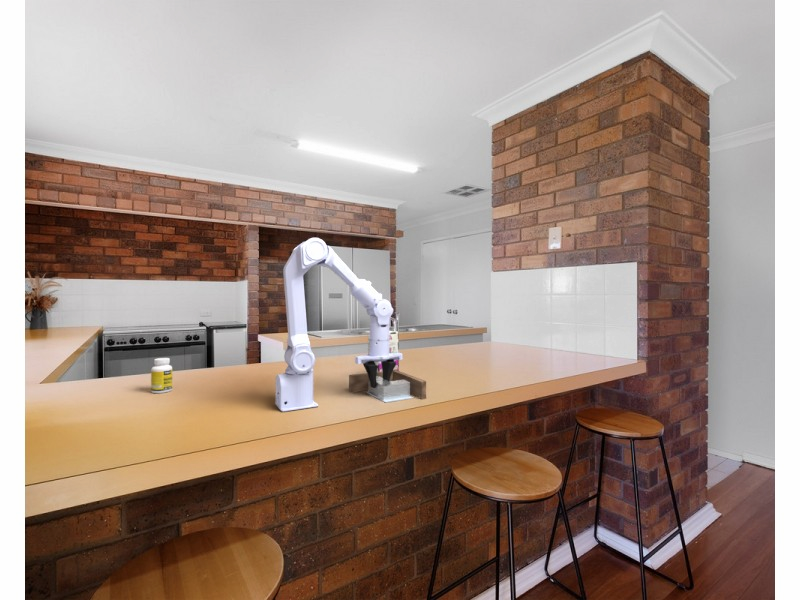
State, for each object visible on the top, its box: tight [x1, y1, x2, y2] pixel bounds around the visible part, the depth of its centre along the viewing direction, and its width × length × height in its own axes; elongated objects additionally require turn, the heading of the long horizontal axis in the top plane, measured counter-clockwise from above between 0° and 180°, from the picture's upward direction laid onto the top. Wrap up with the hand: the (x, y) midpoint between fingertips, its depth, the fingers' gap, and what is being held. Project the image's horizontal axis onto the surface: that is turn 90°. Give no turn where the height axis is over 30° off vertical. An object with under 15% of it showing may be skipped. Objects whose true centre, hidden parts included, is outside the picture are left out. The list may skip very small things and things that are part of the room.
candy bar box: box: [367, 330, 400, 372], centre depth 132 cm, size 11×5×16 cm, turn 143°
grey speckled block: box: [367, 376, 411, 400], centre depth 113 cm, size 10×8×4 cm
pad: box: [366, 391, 414, 403], centre depth 112 cm, size 9×12×1 cm
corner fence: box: [348, 370, 427, 400], centre depth 113 cm, size 16×18×5 cm
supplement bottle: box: [150, 357, 173, 394], centre depth 116 cm, size 5×5×10 cm
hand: (379, 386), depth 113 cm, fingers closed on grey speckled block, 3 cm apart
